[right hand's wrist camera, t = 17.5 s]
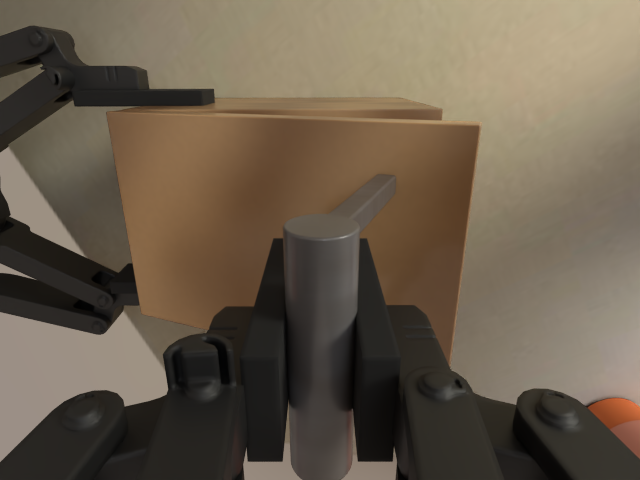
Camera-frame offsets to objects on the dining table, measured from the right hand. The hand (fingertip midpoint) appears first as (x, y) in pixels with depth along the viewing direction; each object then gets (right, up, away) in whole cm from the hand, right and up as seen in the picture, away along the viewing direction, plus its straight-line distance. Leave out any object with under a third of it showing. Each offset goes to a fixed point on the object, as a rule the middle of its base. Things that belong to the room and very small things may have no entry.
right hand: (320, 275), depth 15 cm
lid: (-2, +1, +4) cm, 4 cm away
